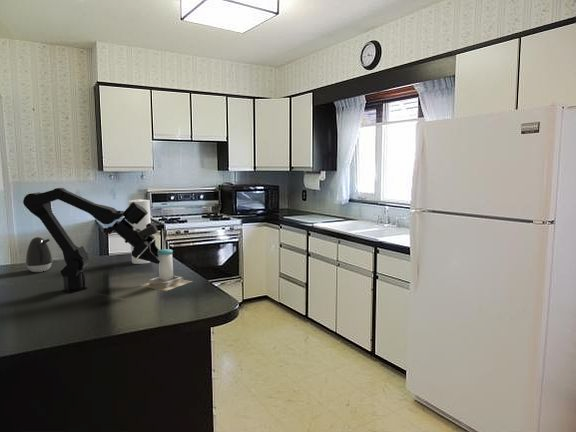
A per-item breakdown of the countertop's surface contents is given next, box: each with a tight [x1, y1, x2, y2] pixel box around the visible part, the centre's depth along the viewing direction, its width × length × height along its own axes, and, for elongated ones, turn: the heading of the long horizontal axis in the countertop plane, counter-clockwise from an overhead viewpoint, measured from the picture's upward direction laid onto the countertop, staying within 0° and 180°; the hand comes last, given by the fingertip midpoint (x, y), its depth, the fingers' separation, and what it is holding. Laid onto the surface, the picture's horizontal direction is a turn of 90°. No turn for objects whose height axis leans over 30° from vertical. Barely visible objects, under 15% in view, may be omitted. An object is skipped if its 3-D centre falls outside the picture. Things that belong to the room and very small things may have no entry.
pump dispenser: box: [25, 236, 53, 273], centre depth 181 cm, size 10×10×15 cm
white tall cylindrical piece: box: [157, 248, 174, 282], centre depth 159 cm, size 6×6×13 cm
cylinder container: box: [128, 198, 152, 265], centre depth 197 cm, size 9×9×30 cm
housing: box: [139, 275, 194, 292], centre depth 159 cm, size 14×14×2 cm
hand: (160, 260), depth 158 cm, fingers open, 9 cm apart
